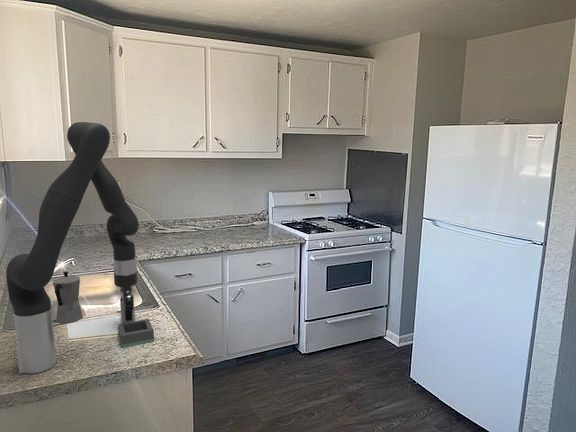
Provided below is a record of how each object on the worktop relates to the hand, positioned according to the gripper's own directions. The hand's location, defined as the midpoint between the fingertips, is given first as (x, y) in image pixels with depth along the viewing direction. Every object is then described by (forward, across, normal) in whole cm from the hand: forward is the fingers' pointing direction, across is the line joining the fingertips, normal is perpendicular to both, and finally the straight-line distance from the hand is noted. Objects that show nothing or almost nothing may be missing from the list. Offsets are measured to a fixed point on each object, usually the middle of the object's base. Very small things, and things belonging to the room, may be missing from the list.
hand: (128, 317), depth 152 cm
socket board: (+3, +11, +1) cm, 12 cm away
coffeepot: (+4, -15, -19) cm, 24 cm away
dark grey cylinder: (+4, 0, 0) cm, 4 cm away
